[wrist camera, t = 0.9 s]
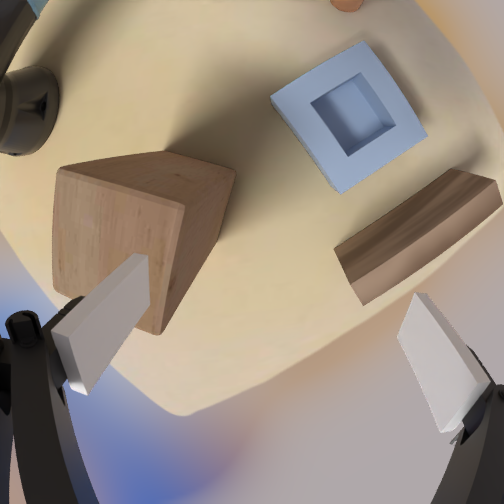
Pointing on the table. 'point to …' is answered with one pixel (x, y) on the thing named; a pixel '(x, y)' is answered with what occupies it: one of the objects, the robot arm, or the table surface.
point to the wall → (416, 232)
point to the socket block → (349, 116)
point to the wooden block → (138, 224)
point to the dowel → (347, 5)
